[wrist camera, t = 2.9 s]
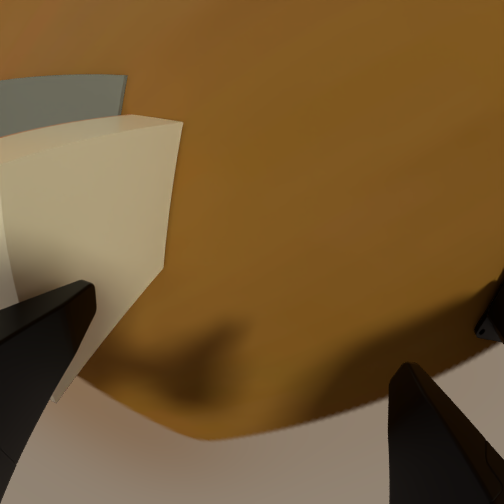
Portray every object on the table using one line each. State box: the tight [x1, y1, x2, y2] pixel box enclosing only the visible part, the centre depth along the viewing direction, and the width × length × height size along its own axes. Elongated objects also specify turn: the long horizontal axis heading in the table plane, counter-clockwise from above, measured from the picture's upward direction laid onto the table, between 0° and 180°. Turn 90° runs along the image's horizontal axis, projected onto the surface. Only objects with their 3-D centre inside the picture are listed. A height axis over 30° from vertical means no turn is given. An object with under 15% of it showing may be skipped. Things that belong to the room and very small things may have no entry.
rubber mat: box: [0, 75, 127, 137], centre depth 15 cm, size 11×12×1 cm
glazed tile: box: [0, 114, 183, 403], centre depth 11 cm, size 3×8×10 cm, turn 167°
